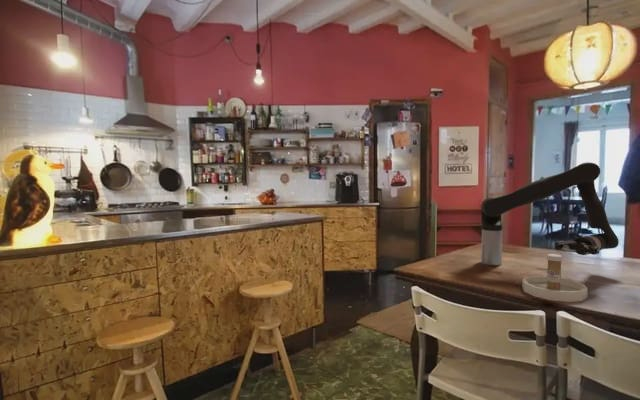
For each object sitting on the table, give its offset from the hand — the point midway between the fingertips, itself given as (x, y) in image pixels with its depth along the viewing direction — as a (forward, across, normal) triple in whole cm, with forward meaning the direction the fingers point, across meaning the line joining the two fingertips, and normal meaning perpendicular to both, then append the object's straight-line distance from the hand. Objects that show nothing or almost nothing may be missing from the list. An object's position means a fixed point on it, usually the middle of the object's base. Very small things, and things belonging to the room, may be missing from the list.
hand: (568, 249), depth 143 cm
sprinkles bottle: (+13, +1, +14) cm, 19 cm away
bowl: (+13, +1, +15) cm, 20 cm away
